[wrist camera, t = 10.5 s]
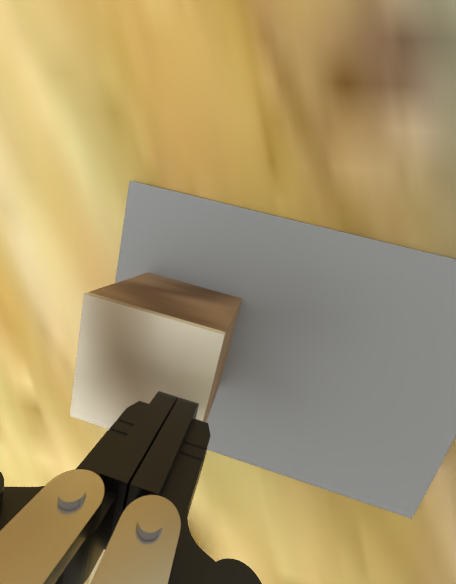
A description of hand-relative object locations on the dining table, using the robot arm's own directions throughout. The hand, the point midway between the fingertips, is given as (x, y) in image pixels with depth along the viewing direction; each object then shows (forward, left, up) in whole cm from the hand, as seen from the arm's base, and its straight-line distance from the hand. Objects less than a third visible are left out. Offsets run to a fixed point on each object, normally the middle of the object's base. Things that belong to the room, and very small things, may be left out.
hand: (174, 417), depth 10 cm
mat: (-4, 0, -8) cm, 9 cm away
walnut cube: (+2, 0, -2) cm, 3 cm away
